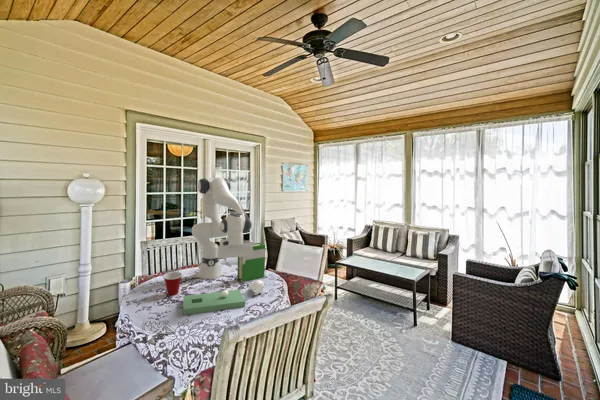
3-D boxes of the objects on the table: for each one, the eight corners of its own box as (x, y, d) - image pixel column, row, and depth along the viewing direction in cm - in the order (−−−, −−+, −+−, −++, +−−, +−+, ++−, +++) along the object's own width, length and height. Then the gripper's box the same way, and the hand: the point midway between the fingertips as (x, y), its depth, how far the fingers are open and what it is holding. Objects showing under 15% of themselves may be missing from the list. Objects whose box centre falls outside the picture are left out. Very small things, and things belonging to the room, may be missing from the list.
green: (183, 301, 166) (183, 296, 165) (239, 294, 178) (239, 289, 177) (183, 314, 149) (183, 309, 149) (245, 306, 161) (245, 301, 161)
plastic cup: (160, 297, 169) (160, 277, 168) (165, 290, 180) (165, 272, 179) (180, 296, 171) (180, 277, 170) (184, 290, 182) (184, 271, 181)
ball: (220, 296, 166) (220, 289, 166) (227, 295, 168) (227, 288, 168) (221, 299, 163) (221, 292, 162) (228, 298, 164) (228, 291, 164)
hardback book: (242, 281, 199) (242, 247, 197) (237, 278, 205) (237, 245, 203) (264, 277, 210) (264, 244, 208) (259, 274, 216) (259, 242, 214)
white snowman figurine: (256, 282, 174) (245, 279, 183) (257, 296, 174) (246, 292, 183) (265, 280, 179) (254, 276, 187) (265, 293, 179) (254, 290, 187)
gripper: (252, 239, 173) (251, 261, 174) (216, 241, 166) (216, 264, 167) (254, 241, 168) (254, 264, 168) (218, 243, 160) (218, 267, 161)
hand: (235, 264), depth 167 cm, fingers open, 8 cm apart
